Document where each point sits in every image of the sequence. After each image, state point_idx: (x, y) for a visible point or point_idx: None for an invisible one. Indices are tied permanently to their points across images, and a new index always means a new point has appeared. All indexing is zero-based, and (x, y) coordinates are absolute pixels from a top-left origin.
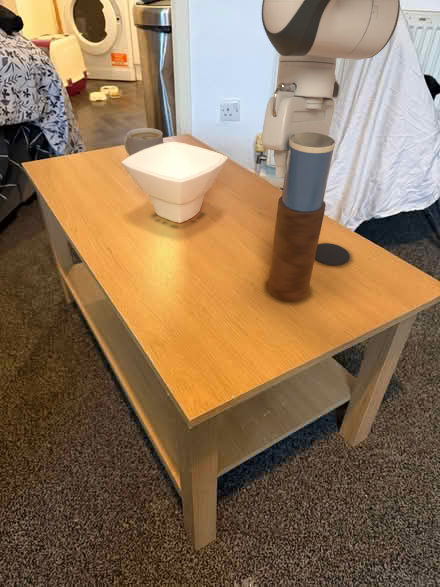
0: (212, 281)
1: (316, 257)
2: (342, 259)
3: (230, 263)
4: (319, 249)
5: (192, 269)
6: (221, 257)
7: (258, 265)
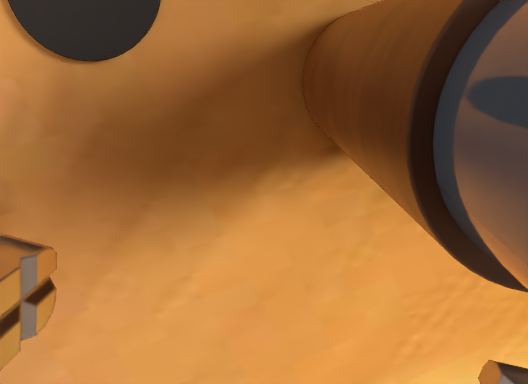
0: (411, 302)
1: (140, 28)
2: None
3: (302, 291)
4: (77, 29)
5: (376, 372)
6: (282, 326)
7: (275, 209)
